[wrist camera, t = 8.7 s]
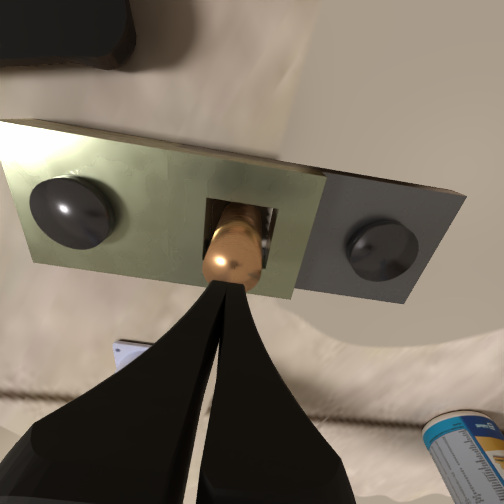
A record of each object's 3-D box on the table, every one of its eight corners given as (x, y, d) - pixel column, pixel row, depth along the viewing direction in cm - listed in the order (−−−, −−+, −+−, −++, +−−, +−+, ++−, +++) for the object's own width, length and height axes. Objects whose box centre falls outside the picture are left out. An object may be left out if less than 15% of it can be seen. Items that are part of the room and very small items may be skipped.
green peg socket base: (394, 292, 22) (420, 327, 18) (62, 243, 20) (21, 270, 17) (451, 190, 17) (500, 209, 14) (33, 118, 16) (-32, 119, 12)
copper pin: (259, 239, 19) (258, 296, 13) (221, 236, 19) (203, 292, 13) (263, 201, 18) (264, 246, 12) (221, 198, 18) (201, 242, 12)
